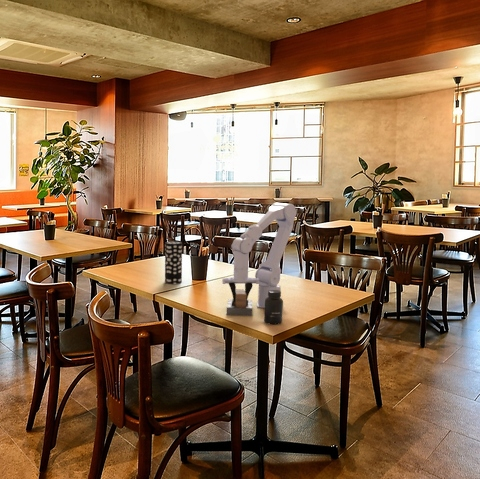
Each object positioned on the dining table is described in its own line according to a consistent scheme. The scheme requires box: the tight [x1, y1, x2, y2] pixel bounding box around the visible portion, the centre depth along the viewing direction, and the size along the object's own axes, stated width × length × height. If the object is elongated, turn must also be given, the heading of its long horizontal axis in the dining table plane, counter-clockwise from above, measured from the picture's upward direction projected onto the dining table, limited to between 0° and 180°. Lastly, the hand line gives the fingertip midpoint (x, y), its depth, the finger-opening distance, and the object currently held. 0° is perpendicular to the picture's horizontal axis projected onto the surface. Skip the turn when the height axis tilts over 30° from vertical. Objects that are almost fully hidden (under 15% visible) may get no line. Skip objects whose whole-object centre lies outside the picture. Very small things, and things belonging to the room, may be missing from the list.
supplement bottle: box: [263, 290, 284, 326], centre depth 174 cm, size 7×7×12 cm
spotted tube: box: [164, 241, 183, 285], centre depth 232 cm, size 8×8×20 cm
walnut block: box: [234, 288, 248, 307], centre depth 188 cm, size 9×4×6 cm, turn 7°
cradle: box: [226, 298, 253, 317], centre depth 188 cm, size 10×12×3 cm
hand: (240, 301), depth 187 cm, fingers closed on walnut block, 4 cm apart
